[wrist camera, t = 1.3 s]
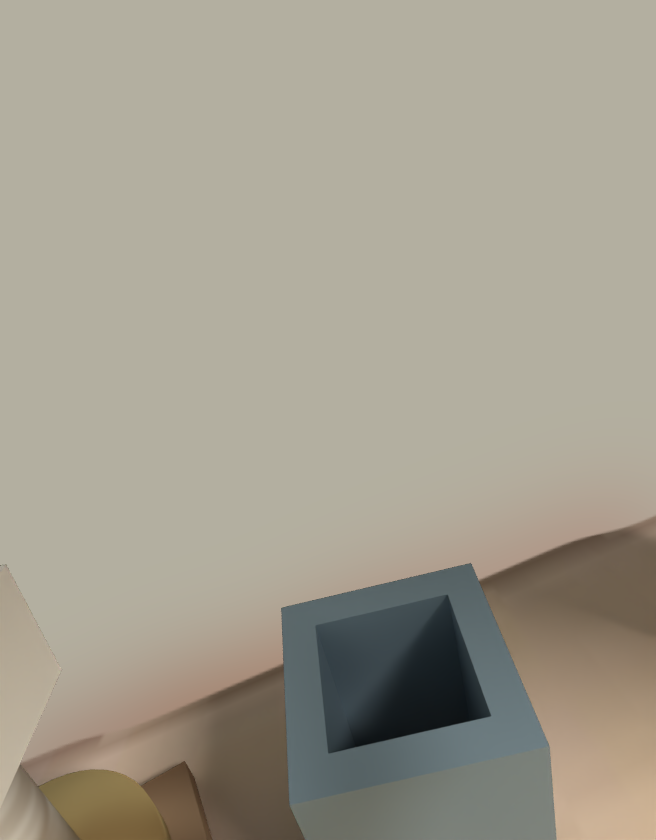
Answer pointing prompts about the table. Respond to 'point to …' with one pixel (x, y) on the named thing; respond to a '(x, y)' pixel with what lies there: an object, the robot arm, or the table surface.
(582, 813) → the table surface
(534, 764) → the sleeve
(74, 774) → the post stand
